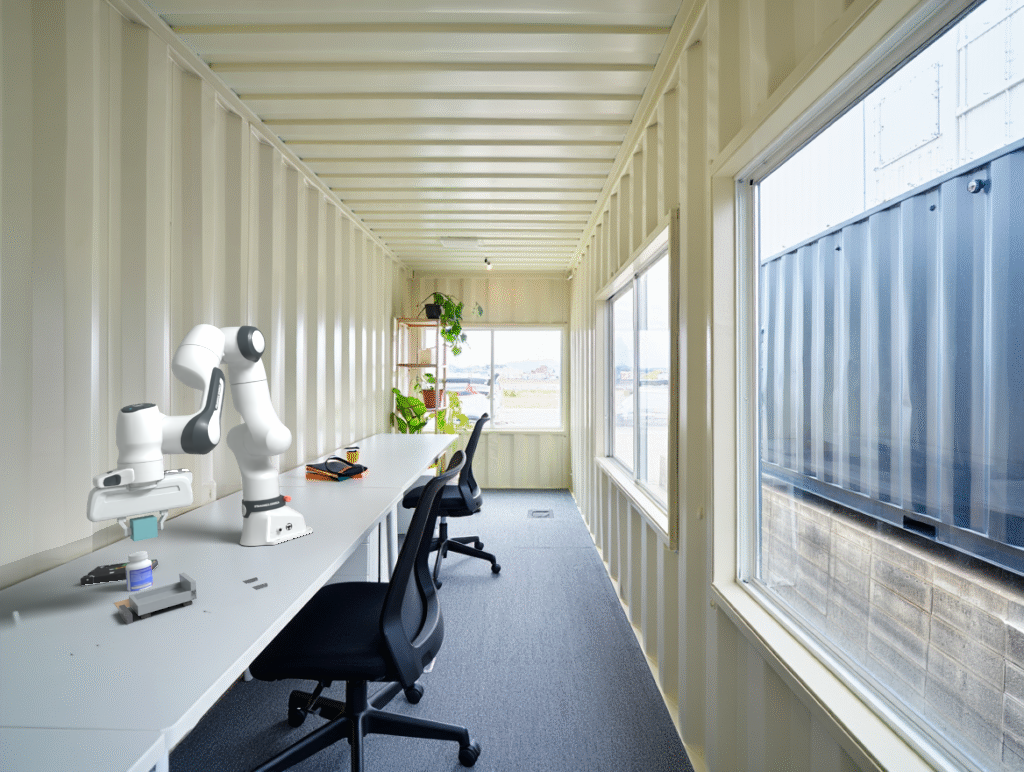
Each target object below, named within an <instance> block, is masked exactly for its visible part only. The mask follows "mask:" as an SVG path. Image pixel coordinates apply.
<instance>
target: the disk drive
mask: <svg viewBox="0 0 1024 772" xmlns="http://www.w3.org/2000/svg"><path fill="white" fill-rule="evenodd" d="M150 560H151V562H152V570H153V569H154V568H155V567H156V566H157V565H158V566H159V561H158V559H156V558H155V559H150ZM128 563H130V561H128V562H120V563H113V564H104V565H98V566H96V567H95V568H94V569H92V570H91V571H89V572H88V573H87V575H86V574H85V575H83V576H82V577H80V586H81V585H85V584H93V583H100V582H109V581H118V580H122V581H126V565H127V564H128ZM156 568H157V567H156ZM156 568H155V569H156ZM155 569H154V570H155ZM154 570H153V571H154ZM118 582H119V581H118Z"/></svg>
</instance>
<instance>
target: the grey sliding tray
mask: <svg viewBox="0 0 1024 772" xmlns="http://www.w3.org/2000/svg"><path fill="white" fill-rule="evenodd" d="M178 575H179V581H178V582H173V583H169V584H167V585H163V586H159V587H155V588H152V589H148V590H143V591H141V592H137V593H133V594H130V595H128V599H129V605H130V606H131V609H132V611H134V613H135V614H137V616H139V617H140V619H142V620H144V619H148V618H151V616H152V614H151V613H153V612H155V611H159V610H162V609H167V608H168V607H169V608H170V607H173V606H176V605H180V604H182V606H183V607H188V606H191V605H193V600H197V582H196V580H195V579H194V578H193V577H191V576H189V575H188V574H187V573H185V572H180V573H179V574H178Z"/></svg>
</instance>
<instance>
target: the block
mask: <svg viewBox="0 0 1024 772" xmlns="http://www.w3.org/2000/svg"><path fill="white" fill-rule="evenodd" d="M157 522H158V517H157V516H156V515H154V514H150V515H144V516H139V517H133V518H132V517H131V518H129V527H132V528H133V531H132V532H133V535H132V536H129V538H130V539H131V541H133V543H134V542H135V543H136V542H139V541H145V540H150V539H153V538H155V539H156V538H158V535H159V533H158V531H159V530H157Z"/></svg>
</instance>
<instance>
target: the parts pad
mask: <svg viewBox="0 0 1024 772" xmlns="http://www.w3.org/2000/svg"><path fill="white" fill-rule="evenodd" d="M113 604H114V606H115V607H116V608H117V609H118V610H119V606H120V605H125V606H126V607H127V608H128V609H129V608H130V607H131V606H130V605H129V598H127V599H122V600H119V601H116V602H113Z"/></svg>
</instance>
